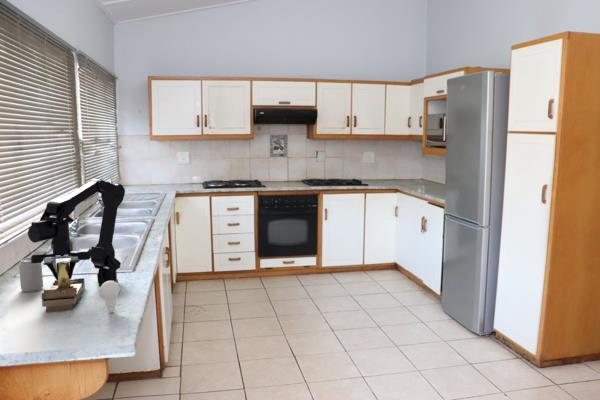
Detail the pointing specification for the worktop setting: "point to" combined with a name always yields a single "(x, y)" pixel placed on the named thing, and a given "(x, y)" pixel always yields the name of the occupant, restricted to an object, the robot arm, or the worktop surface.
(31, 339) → the worktop surface
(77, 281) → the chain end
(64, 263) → the brass pin
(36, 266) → the can
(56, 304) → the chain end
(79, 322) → the worktop surface
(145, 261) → the worktop surface
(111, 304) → the lightbulb
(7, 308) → the worktop surface
